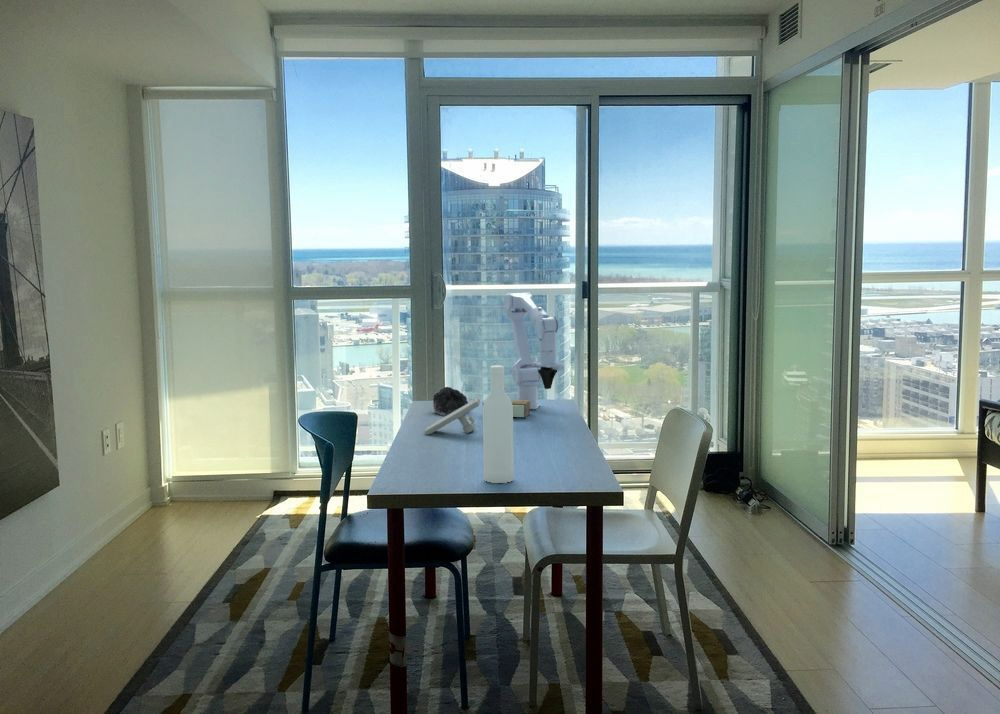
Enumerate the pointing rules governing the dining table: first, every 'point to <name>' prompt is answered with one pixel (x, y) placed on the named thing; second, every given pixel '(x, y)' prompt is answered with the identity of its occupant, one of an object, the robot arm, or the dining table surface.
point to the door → (519, 411)
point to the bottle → (498, 431)
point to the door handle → (457, 415)
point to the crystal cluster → (448, 401)
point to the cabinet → (522, 402)
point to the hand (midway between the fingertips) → (547, 388)
